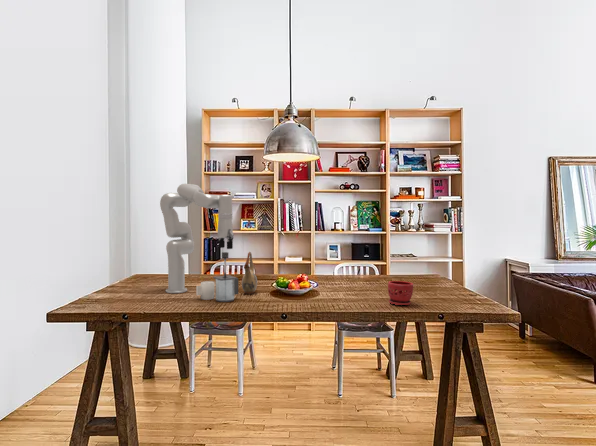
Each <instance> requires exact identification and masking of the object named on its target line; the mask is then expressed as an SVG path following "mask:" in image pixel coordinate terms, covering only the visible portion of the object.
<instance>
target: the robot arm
mask: <svg viewBox="0 0 596 446" xmlns="http://www.w3.org/2000/svg"><path fill="white" fill-rule="evenodd" d="M176 191H177V192H168V193H167V192H166V193H164V194H163V195H162V196H161V198H160V199H159V200H160V201H159V208H160V211H161V213H162V216H163V221H164V226H165V231H166V235H167V237H168V238H170V239H171V238H173V239H172V240H169V241H168V242H167V244H166V248H165V249H166V253H167V265H168V266H167V267H168V268H167V269H168V270H167V273H168V277H167V278H168V279H167V281H168V283H167V285H168V286H167V288H166V289H165V293H168V294H182V293H186V292H187V291H188V288H187V287H185V285H186V284H185V273H186V271H185V260H184V258H183V255H189V254H192V253H193V252H194V250H195V240H194V236H193V231H192V227H191V225H190V224H189V223H188V222H185V221H180V219H179V214H178V212H177V211H176V210H175V208H186V207H188V206H190V205H191V204H192V203H194V204H195V205H196V206H199V207H202V208H203V209H204V208H205V209H218V213H217V215H218V222H217V238H218V248H219V249H222V248H223V249H224V248H225V240H227V241H226V250H233V248H234V245H233V242H234V235H235V233H234V232H233V231H234V228H233V196H232V195H230V194H208V193H205V192H204V190H203V188H201V187H200V185H198V184H193V183H182V184H179V185H178V187H177V189H176ZM174 238H178V239H174ZM180 238H181V239H180Z"/></svg>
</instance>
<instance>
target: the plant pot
mask: <svg viewBox="0 0 596 446" xmlns="http://www.w3.org/2000/svg"><path fill="white" fill-rule="evenodd" d="M387 290H388V292H387V293H388V297H389V299H388V302H389V304H390V303H391V305H392V304H395V305H408V306H409V304H410V305H411V303H412V301H411V299H412V298H413V297H412V296H413V293H414V283H413V282H411V281H410V282H409V281H403V280H391V281H389V280H388V283H387ZM395 305H394V306H395Z"/></svg>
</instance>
